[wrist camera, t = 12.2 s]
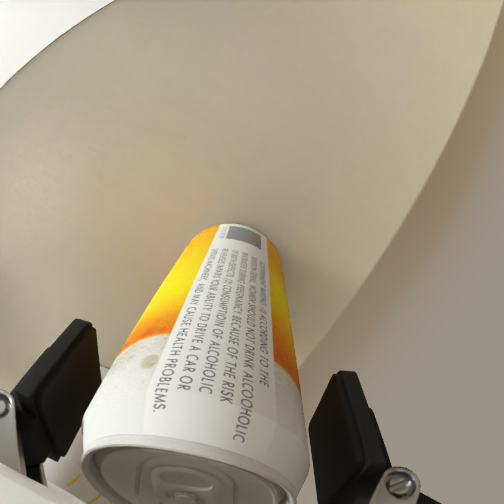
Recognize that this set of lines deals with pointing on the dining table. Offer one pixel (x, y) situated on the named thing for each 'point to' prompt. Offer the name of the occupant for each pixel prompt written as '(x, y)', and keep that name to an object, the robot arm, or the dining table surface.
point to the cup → (73, 472)
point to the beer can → (204, 386)
